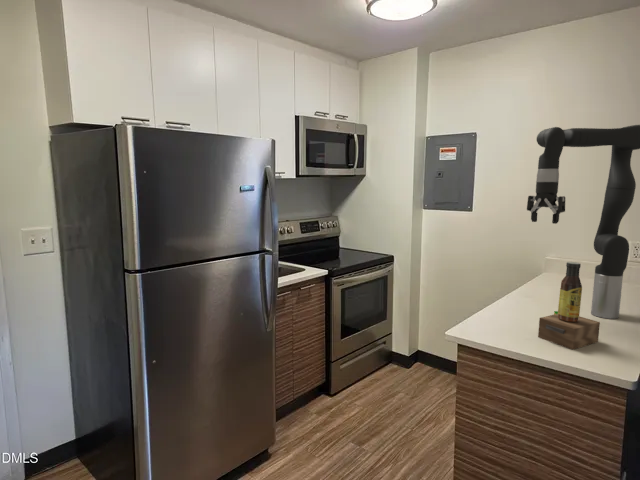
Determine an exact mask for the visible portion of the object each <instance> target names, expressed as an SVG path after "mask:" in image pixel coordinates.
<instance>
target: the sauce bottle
mask: <svg viewBox="0 0 640 480" xmlns="http://www.w3.org/2000/svg"><path fill="white" fill-rule="evenodd" d="M565 264H566V265H565V266H566V270H565V272H566V273H565V276H564V277H563V279H562V280H561V282H560V283H561V284H560V288H559V289H560V290H559V297H558V305H557V306H558V307H557V311H558V318H559V319H560V320H563V321H567V322H577V321H578V317H579V316H580V313H581V304H582V293H583V285H582V281H581V279H580V270H581V263H580V262H576V261H575V262H573V261H567V262H566V263H565Z"/></svg>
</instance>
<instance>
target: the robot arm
mask: <svg viewBox="0 0 640 480" xmlns="http://www.w3.org/2000/svg"><path fill="white" fill-rule="evenodd" d="M536 143H537V144H538V145H539V146H540V147H542V148H544V151H543V153H542V154H541V155H539V157H538V163H537V173H536V181H535V183H536V184H535V195H528V197H527V203H526V204H527V205H526V211H529V212H531V213H530V220H531V222H532V223H536V222H537V221H538V211H539V210H540V209H542V208H549V209H550V210H551V211H552V219H551V220H552V222H551V223H552V224H555V225H556V224H558V223H559V222H560V214H561V213H565V212H566V196H565V195H564V196H561V195H560V196H558V192H559V180H560V169H559V168H560V158H561V155H562V152H563V148H565V147H567V148H569V147H570V148H591V147H602V146H604V147H605V146H611V153H610V154H611V157H610V164H609V165H610V167H609V173H608V179H607V183H606V187H605V188H606V189H605V193H604V199H603V205H602V209H601V216H600V221H599V224H598V227H597V230H596V233H595V237H594V241H593V248H594V252H596V253H597V254H598V255H600V256H602V258H601V262H600V264H598V265H595V267H594V268H595V269H594V276H593V277H594V278H593V287H592V300H591V308H590V309H591V310H590V314H591V315H592V316H595V317H598V318H603V319H609V320H610V319H611V320H615V319H619V316H620V309H621V300H622V299H621V298H622V289H623V280H624V279H623V278H624V272H625V271H626V269H627V266H628V260H629V254H630V244H629V241H628V239H627V238H626V237H624V236H621V235H619V229H620V223H621V221H622V219H623V218H624V216H625V215H626V214H627V212H628V211H629V209H630V207H632V204H633V201H634V196H635V192H636V186H637V184H636V179H635V176H634V173H633V170H632V167H631V166H632V165H631V163H632V162H631V161H632V157H633V156H632V154H633V151H635V150H640V124H635V125H628V126H624V127H617V128H615V127H614V128H597V127H596V128H591V127H589V128H588V127H578V128H577V127H576V128H575V127H572V128H567V129H562V127H560V126H559V127H558V126H554V127H553V126H552V127H549V128H546V129H542V130H541V131H540V132H539V133H538V134H537V136H536Z"/></svg>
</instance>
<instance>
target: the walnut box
mask: <svg viewBox="0 0 640 480" xmlns="http://www.w3.org/2000/svg"><path fill="white" fill-rule="evenodd" d="M600 325H601V323H600V321H597V320H594V319H590V318H586V317H583V316H581V315H579V317H578V321H577V322H567V321H563V320H560V319H559V318H558V314H551V315H547V316H542V317H539V321H538V333H537V334H538V335H537V338H539V339H543V340H545V341H547V342H551V343H553V344H556V345H559V346H562V347H564V348H566V349H570V350H576V349H579V348H583V347H586V346H589V345H592V344H597V343H599V335H600V327H601V326H600Z"/></svg>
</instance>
